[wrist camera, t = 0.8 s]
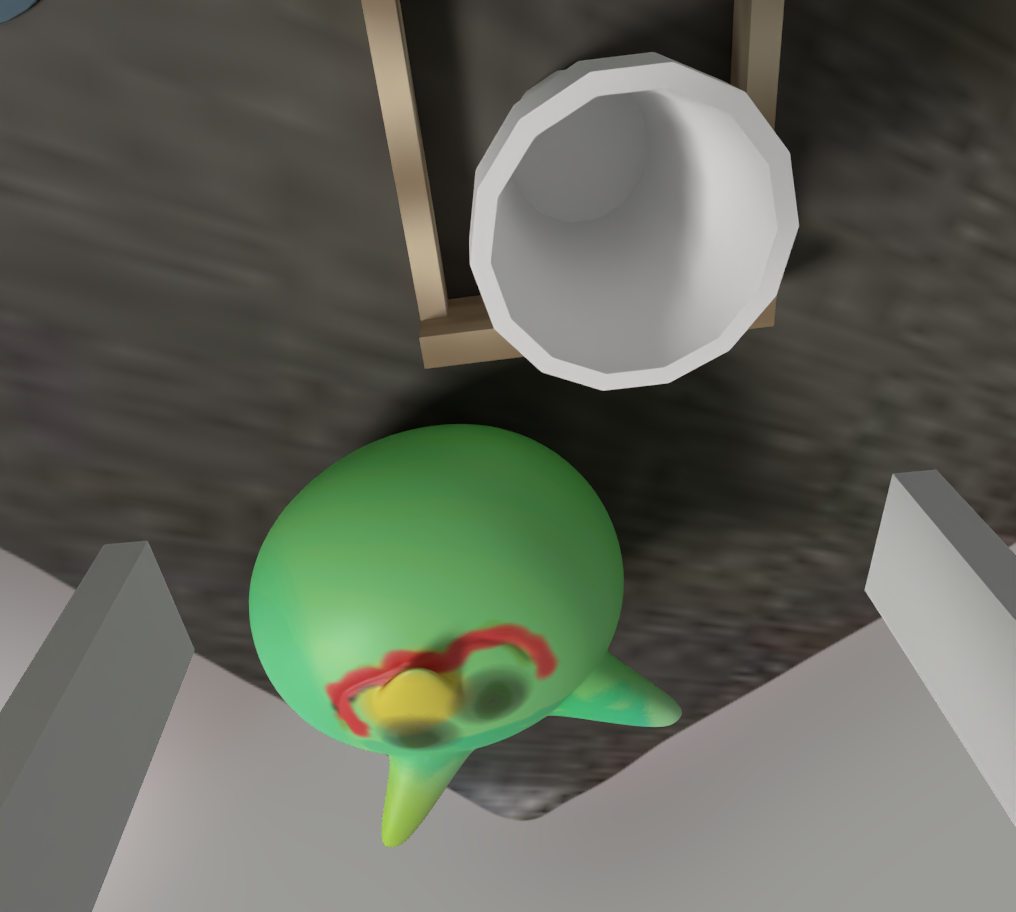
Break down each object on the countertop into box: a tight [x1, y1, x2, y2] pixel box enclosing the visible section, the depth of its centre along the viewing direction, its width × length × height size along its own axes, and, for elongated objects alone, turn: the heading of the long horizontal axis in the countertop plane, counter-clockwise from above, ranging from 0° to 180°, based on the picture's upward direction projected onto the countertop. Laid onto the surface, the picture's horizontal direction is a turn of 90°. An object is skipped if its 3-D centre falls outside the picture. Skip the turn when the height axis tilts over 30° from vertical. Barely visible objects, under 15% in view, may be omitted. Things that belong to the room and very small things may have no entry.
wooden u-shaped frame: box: [361, 0, 784, 369], centre depth 31 cm, size 16×15×4 cm
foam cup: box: [469, 52, 799, 391], centre depth 27 cm, size 10×9×13 cm
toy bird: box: [249, 424, 682, 847], centre depth 37 cm, size 18×17×15 cm
